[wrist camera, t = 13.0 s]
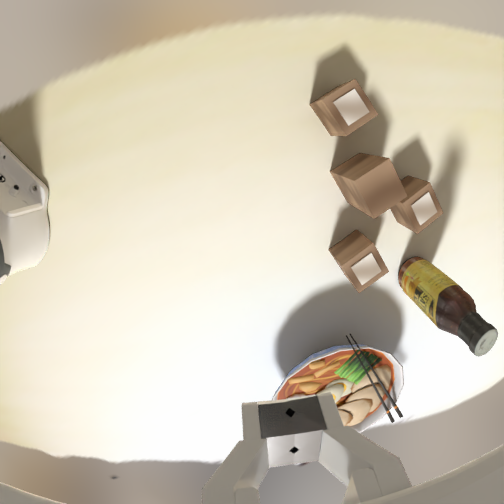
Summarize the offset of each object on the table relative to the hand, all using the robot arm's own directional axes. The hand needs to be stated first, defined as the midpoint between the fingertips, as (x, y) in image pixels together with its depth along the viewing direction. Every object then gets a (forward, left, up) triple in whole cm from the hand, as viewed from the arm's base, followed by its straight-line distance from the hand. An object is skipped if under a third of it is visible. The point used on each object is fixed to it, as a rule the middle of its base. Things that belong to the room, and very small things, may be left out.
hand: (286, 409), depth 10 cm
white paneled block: (+15, +8, -34) cm, 38 cm away
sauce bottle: (+25, +15, -34) cm, 45 cm away
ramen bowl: (+33, -6, -34) cm, 48 cm away
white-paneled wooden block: (+13, +19, -34) cm, 41 cm away
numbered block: (-3, +17, -34) cm, 38 cm away
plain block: (+6, +14, -34) cm, 37 cm away
